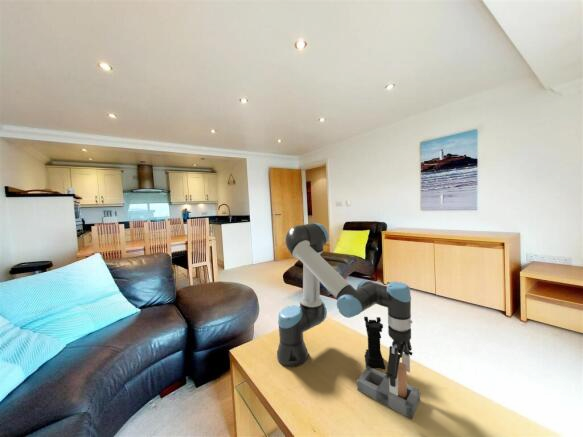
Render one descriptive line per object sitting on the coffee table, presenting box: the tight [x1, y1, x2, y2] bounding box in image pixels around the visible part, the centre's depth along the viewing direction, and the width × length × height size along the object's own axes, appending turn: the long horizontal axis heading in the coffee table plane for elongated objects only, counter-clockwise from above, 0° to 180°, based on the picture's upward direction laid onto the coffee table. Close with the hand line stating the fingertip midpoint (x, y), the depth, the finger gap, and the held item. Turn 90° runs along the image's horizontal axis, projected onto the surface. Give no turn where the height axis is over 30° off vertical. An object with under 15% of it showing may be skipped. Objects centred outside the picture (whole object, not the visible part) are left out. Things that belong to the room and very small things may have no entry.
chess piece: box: [363, 316, 386, 370], centre depth 107 cm, size 8×8×20 cm
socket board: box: [356, 366, 421, 420], centre depth 90 cm, size 20×10×4 cm, turn 48°
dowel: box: [396, 361, 408, 401], centre depth 86 cm, size 4×4×14 cm
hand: (400, 381), depth 86 cm, fingers open, 13 cm apart
